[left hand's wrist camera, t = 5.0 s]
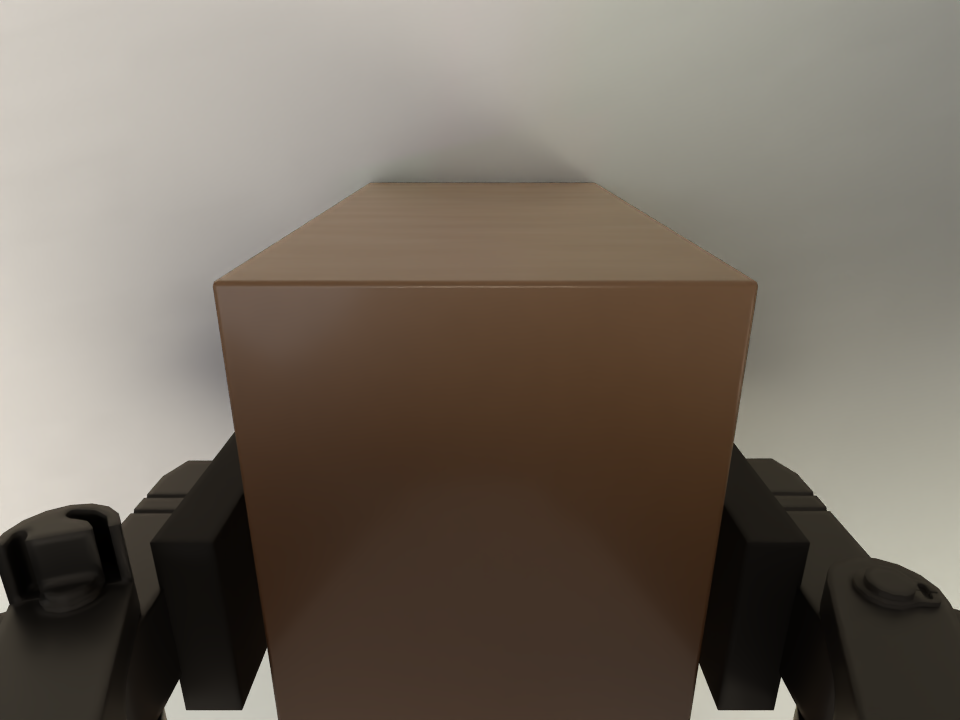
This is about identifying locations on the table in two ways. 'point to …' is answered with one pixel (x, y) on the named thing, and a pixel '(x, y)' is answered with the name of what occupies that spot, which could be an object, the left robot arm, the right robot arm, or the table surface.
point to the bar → (484, 452)
